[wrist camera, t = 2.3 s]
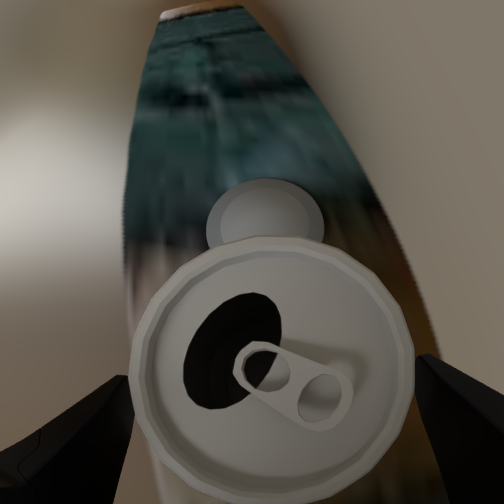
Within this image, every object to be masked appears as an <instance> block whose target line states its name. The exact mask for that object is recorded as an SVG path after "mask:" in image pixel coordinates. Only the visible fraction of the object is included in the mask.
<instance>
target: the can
mask: <svg viewBox="0 0 504 504" xmlns="http://www.w3.org/2000/svg"><path fill="white" fill-rule="evenodd" d="M128 380H129V386H130V392H131V397H132V402H133V407H134V412H135V416H136V420H137V422H138V424H139V426H140V427H141V429H142V431H143V433H144V435H145V437H146V438H147V440H148V442H149V443H150V445H151V447H152V448H153V450H154V452H155V453H156V455H157V457H158V458H159V459H160V460H161V461H162V462H163V463H164V464H165V465H166V466H167V467H169V468H170V469H171V470H172V471H173V472H174V473H175V474H177V475H178V476H179V477H180V478H181V479H182V480H184V481H185V482H186V483H187V484H188V485H190V486H191V487H192V488H194V489H196V490H198V491H200V492H203V493H205V494H207V495H210V496H212V497H214V498H217V499H219V500H222V501H224V502H227V503H230V504H308V503H312V502H315V501H319V500H322V499H326V498H329V497H331V496H333V495H335V494H336V493H338V492H340V491H341V490H343V489H345V488H346V487H348V486H349V485H351V484H352V483H354V482H355V481H357V480H358V479H360V478H361V477H363V476H364V475H366V474H367V473H368V472H370V471H371V470H372V469H373V468H374V466H375V465H376V464H377V463H378V462H379V460H380V459H381V458H382V457H383V455H384V454H385V453H386V452H387V450H388V449H389V448H390V446H391V445H392V444H393V442H394V441H395V440H396V438H397V437H398V436H399V434H400V432H401V429H402V426H403V424H404V421H405V418H406V415H407V412H408V410H409V407H410V404H411V400H412V397H413V394H414V384H415V355H414V345H413V342H412V339H411V336H410V333H409V330H408V327H407V324H406V321H405V318H404V316H403V313H402V310H401V307H400V306H399V304H398V303H397V302H396V300H395V299H394V298H393V296H392V295H391V294H390V292H389V291H388V290H387V289H386V287H385V286H384V285H383V283H382V282H381V281H380V280H379V278H378V277H377V276H376V274H375V273H374V272H372V271H371V270H369V269H368V268H367V267H365V266H364V265H362V264H361V263H359V262H358V261H357V260H355V259H354V258H352V257H351V256H349V255H348V254H346V253H345V252H344V251H342V250H341V249H338V248H335V247H332V246H329V245H326V244H323V243H320V242H317V241H314V240H311V239H308V238H304V237H301V236H285V235H254V236H251V237H247V238H243V239H239V240H235V241H231V242H227V243H224V244H220V245H216V246H214V247H213V248H211V249H209V250H208V251H206V252H204V253H203V254H201V255H199V256H198V257H196V258H194V259H192V260H191V261H189V262H187V263H186V264H184V265H182V266H181V267H180V268H179V269H178V270H177V271H176V272H175V273H174V274H173V275H172V276H171V277H170V278H169V279H168V280H167V282H166V283H165V284H164V285H163V286H162V287H161V288H160V289H159V290H158V291H157V292H156V294H155V295H154V296H153V297H152V298H151V300H150V302H149V304H148V306H147V308H146V310H145V312H144V314H143V317H142V319H141V321H140V323H139V325H138V327H137V329H136V331H135V334H134V336H133V343H132V350H131V357H130V365H129V374H128Z"/></svg>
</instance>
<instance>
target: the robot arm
mask: <svg viewBox="0 0 504 504" xmlns="http://www.w3.org/2000/svg"><path fill="white" fill-rule="evenodd" d="M414 393H415V396H416V400H417V403H418V407H419V411H420V415H421V418H422V421H423V424H424V427H425V429H426V432H427V435H428V437H429V440H430V443H431V446H432V448H433V451H434V454H435V457H436V460H437V463H438V466H439V469H440V472H441V475H442V478H443V481H444V485H445V488H446V491H447V495H448V498H449V502H450V504H504V395H503V394H501V393H499V392H497V391H495V390H494V389H491V388H490V387H488V386H486V385H485V384H483V383H481V382H479V381H477V380H475V379H474V378H472V377H470V376H468V375H467V374H465V373H463V372H461V371H460V370H458V369H456V368H454V367H452V366H451V365H449V364H447V363H445V362H444V361H442V360H440V359H438V358H436V357H435V356H433V355H431V354H423V355H419V356H418V357H417V358H416V360H415V384H414ZM134 417H135V412H134V407H133V402H132V397H131V392H130V386H129V380H128V376H127V375H116V376H114V377H113V378H112V379H110V380H109V381H107V382H106V383H104V384H103V385H101V386H100V387H99V388H97V389H96V390H94V391H93V392H92V393H90V394H89V395H87V396H86V397H84V398H83V399H82V400H80V401H79V402H77V403H76V404H75V405H73V406H72V407H70V408H69V409H67V410H66V411H64V412H63V413H62V414H60V415H59V416H57V417H56V418H54V419H53V420H51V421H50V422H48V423H47V424H45V425H44V426H43V427H41V428H40V429H38V430H37V431H35V432H34V433H32V434H30V435H29V436H28V437H26V438H24V439H23V440H21V441H19V442H17V443H16V444H14V445H12V446H10V447H9V448H6V449H4V450H3V451H1V452H0V504H113V502H114V497H115V494H116V490H117V486H118V482H119V478H120V474H121V471H122V467H123V463H124V460H125V456H126V453H127V449H128V446H129V442H130V438H131V434H132V428H133V422H134Z"/></svg>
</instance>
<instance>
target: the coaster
mask: <svg viewBox="0 0 504 504" xmlns="http://www.w3.org/2000/svg"><path fill="white" fill-rule="evenodd" d="M254 235H285V236H301V237H304V238H308V239H311V240H314V241H317V242H320V243H322V241H323V235H324V221H323V217H322V213H321V211H320V209H319V207H318V205H317V204H316V202H315V201H314V200H313V198H312V197H311V196H310V195H309V194H308V193H307V192H305V191H304V190H303V189H301V188H300V187H298V186H296V185H294V184H292V183H289V182H286V181H283V180H278V179H269V178H267V179H255V180H250V181H247V182H244V183H241V184H239V185H237V186H235V187H233V188H231V189H230V190H228V191H227V192H226V193H225V194H223V195H222V196H221V197H220V198H219V199H218V201H217V202H216V203H215V205H214V206H213V208H212V210H211V212H210V214H209V217H208V221H207V227H206V236H207V241H208V245H209V247H210V249H211V248H213V247H214V246H216V245H220V244H224V243H227V242H231V241H235V240H239V239H243V238H247V237H251V236H254Z"/></svg>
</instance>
